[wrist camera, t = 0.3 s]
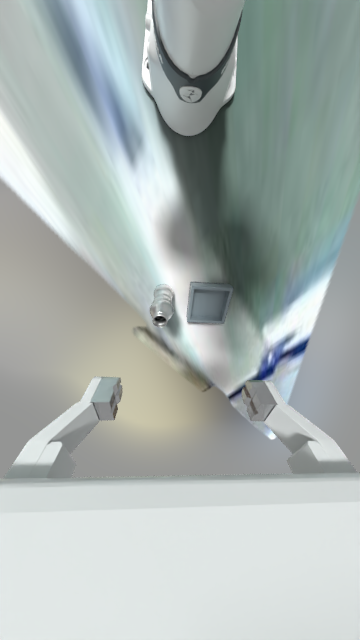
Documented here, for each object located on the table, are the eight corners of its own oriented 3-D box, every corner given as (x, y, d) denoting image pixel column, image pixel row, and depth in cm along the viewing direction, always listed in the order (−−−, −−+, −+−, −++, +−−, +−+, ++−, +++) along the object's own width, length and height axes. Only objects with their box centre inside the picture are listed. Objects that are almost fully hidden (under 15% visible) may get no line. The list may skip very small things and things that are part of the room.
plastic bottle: (154, 281, 54) (145, 309, 37) (173, 282, 54) (173, 310, 37) (154, 299, 57) (147, 331, 40) (173, 299, 58) (173, 332, 41)
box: (190, 281, 54) (191, 285, 51) (229, 284, 55) (233, 288, 52) (186, 316, 62) (187, 321, 58) (221, 318, 63) (223, 323, 59)
